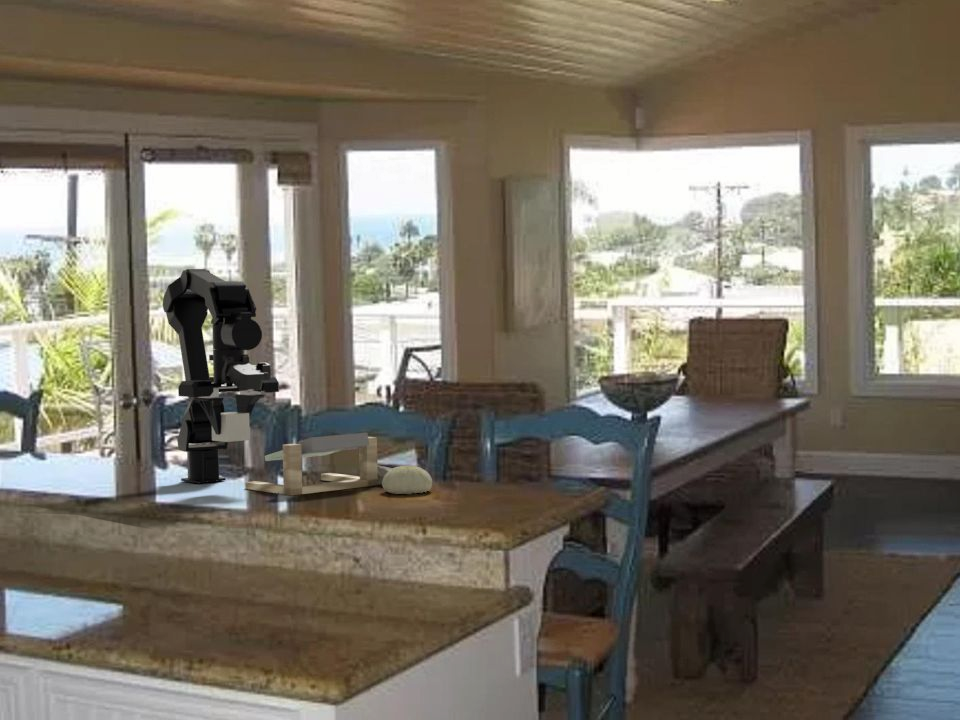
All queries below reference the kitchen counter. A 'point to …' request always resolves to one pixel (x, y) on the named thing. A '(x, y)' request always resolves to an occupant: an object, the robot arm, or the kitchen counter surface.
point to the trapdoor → (326, 445)
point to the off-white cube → (233, 427)
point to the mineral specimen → (382, 473)
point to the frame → (338, 481)
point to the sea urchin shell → (407, 480)
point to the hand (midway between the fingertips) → (230, 433)
